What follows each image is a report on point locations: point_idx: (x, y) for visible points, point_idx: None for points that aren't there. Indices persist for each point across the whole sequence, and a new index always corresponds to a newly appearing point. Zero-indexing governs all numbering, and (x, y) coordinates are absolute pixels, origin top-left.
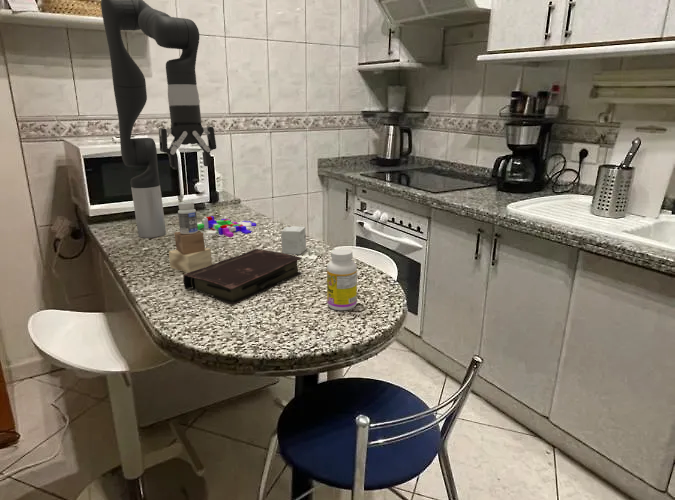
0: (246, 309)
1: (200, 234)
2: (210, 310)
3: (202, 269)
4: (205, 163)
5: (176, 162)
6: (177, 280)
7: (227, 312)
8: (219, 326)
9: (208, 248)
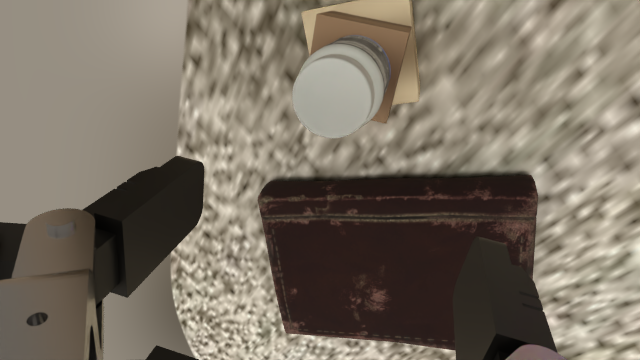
0: (302, 336)
1: (375, 119)
2: (257, 295)
3: (307, 207)
4: (461, 290)
5: (166, 250)
6: (282, 122)
7: (273, 320)
8: (240, 340)
9: (416, 92)
